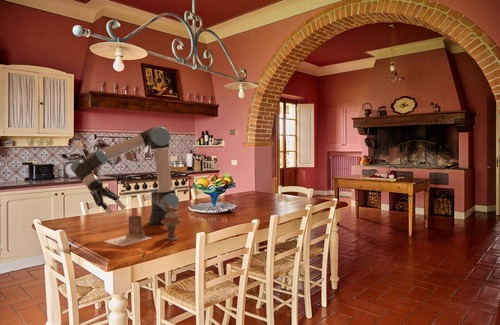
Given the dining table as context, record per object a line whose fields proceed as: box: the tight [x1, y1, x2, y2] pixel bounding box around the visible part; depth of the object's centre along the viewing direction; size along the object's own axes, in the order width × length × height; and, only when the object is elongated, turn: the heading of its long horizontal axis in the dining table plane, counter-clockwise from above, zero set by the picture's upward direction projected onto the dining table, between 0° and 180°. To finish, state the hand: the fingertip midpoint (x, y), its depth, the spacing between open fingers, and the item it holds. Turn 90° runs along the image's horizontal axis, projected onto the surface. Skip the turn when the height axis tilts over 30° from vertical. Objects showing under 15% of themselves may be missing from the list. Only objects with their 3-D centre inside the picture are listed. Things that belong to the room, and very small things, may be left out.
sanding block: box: [125, 215, 146, 239], centre depth 194 cm, size 4×9×12 cm, turn 81°
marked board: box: [103, 235, 152, 247], centre depth 190 cm, size 20×16×1 cm
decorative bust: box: [160, 198, 183, 242], centre depth 195 cm, size 11×13×25 cm
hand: (117, 210), depth 195 cm, fingers open, 13 cm apart
